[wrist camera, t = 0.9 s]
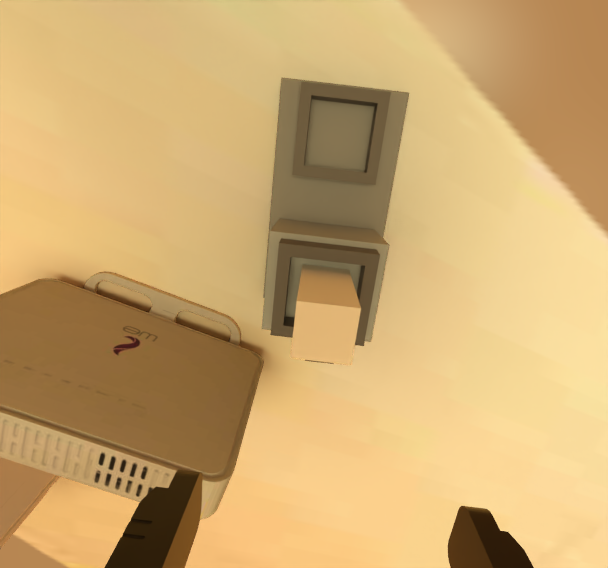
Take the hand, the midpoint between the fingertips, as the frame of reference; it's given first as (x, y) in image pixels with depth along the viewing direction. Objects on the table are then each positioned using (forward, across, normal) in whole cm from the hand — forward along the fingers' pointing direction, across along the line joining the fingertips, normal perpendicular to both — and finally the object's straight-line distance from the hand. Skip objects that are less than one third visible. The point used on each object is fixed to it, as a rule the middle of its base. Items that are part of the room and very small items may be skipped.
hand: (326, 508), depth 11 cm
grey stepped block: (+30, 0, -7) cm, 31 cm away
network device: (+30, +18, +10) cm, 37 cm away
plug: (+21, 0, 0) cm, 21 cm away
